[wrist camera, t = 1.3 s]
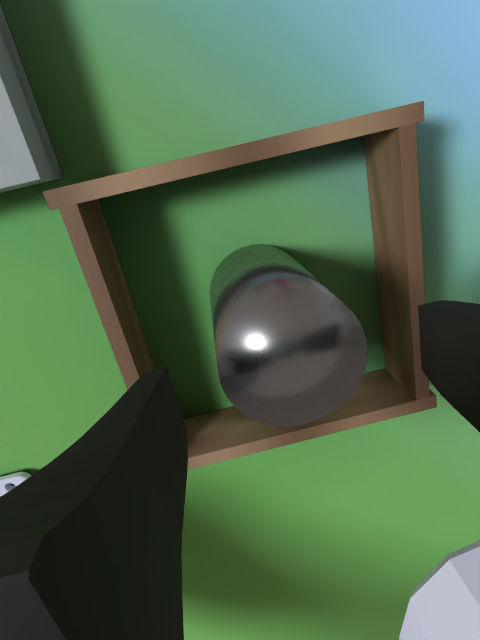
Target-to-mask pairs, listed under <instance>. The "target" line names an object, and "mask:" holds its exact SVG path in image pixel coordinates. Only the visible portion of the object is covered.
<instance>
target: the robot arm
mask: <svg viewBox="0 0 480 640" xmlns="http://www.w3.org/2000/svg"><path fill="white" fill-rule="evenodd" d="M418 315H419V332H420V350H421V368H422V370H423V372H424V373H425V375H426V376H427V377H428V379H429V380H430V381H431V383H432V384H433V385H434V386H435V388H436V389H437V390H438V391H439V393H440V394H441V395H442V396H443V397H444V398H445V399H446V400H447V401H448V402H449V403H450V404H451V405H452V406H453V407H454V408H455V409H456V410H457V411H458V412H459V413H460V414H461V415H462V416H463V417H464V418H465V419H466V420H467V421H468V422H470V423H471V424H472V425H473V426H474V427H475V428H476V429H477V430H478V431H479V432H480V304H474V303H467V302H458V301H436V302H432V303H427V304H423V305H419V306H418ZM187 467H188V446H187V431H186V425H185V422H184V419H183V416H182V413H181V410H180V407H179V404H178V401H177V398H176V395H175V392H174V389H173V386H172V383H171V380H170V377H169V374H168V371H167V368H163V369H159V370H155V371H151V372H147V373H144V374H143V375H142V376H141V377H140V378H139V379H138V380H137V381H136V382H135V383H134V384H133V385H132V386H131V387H130V388H129V389H128V391H127V392H126V393H125V394H124V395H123V396H122V397H121V398H120V399H119V400H118V401H117V402H116V403H115V404H114V406H113V407H112V408H111V409H110V410H109V411H108V412H107V413H106V414H105V415H104V416H103V417H102V418H101V419H100V420H99V421H97V422H96V423H95V424H94V425H93V426H92V427H91V428H90V429H89V430H88V431H87V432H86V433H85V434H84V435H83V436H82V437H81V438H80V439H78V440H77V441H76V442H75V443H74V444H73V445H71V446H70V447H69V448H68V449H67V450H65V451H64V452H63V453H62V454H60V455H59V456H58V457H57V458H55V459H54V460H53V461H52V462H50V463H49V464H48V465H46V466H45V467H43V468H42V469H40V470H39V471H38V472H36V473H35V474H33V475H32V476H31V475H30V474H29V473H26V472H17V473H13V474H9V475H5V476H1V477H0V640H184V633H183V605H182V564H181V546H182V527H183V516H184V504H185V492H186V480H187ZM9 483H12V484H14V485H15V486H12V485H10V484H9ZM399 640H480V541H478V542H475V543H473V544H471V545H469V546H467V547H464V548H462V549H460V550H458V551H455V552H453V553H451V554H449V555H447V556H446V557H445V558H444V559H443V560H442V561H441V562H440V563H439V564H438V565H437V566H436V567H435V568H434V569H433V570H432V571H431V572H430V573H429V574H428V575H427V576H426V577H425V578H424V579H423V580H422V581H421V582H420V583H419V584H418V585H417V586H416V587H415V588H414V590H413V592H412V595H411V597H410V600H409V604H408V607H407V611H406V615H405V618H404V622H403V625H402V629H401V633H400V636H399Z"/></svg>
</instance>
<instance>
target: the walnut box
mask: <svg viewBox="0 0 480 640" xmlns="http://www.w3.org/2000/svg"><path fill="white" fill-rule="evenodd" d="M422 121H424V101H421V102H417V103H413V104H409V105H405V106H400V107H396V108H392V109H388V110H384V111H379V112H375V113H371V114H367V115H363V116H358V117H354V118H350V119H346V120H342V121H337V122H333V123H329V124H325V125H321V126H316V127H312V128H308V129H304V130H299V131H295V132H291V133H287V134H283V135H278V136H274V137H270V138H266V139H262V140H257V141H253V142H249V143H245V144H241V145H236V146H232V147H228V148H224V149H220V150H215V151H211V152H207V153H203V154H199V155H194V156H190V157H186V158H182V159H178V160H173V161H169V162H165V163H161V164H156V165H152V166H148V167H144V168H140V169H135V170H131V171H127V172H123V173H119V174H114V175H110V176H106V177H102V178H98V179H93V180H89V181H85V182H81V183H77V184H72V185H68V186H64V187H60V188H56V189H51V190H47V191H43V194H44V197H45V199H46V202H47V204H48V207H49V209H50V210H53V209H57V208H59V210H60V213H61V215H62V218H63V221H64V223H65V226H66V229H67V231H68V234H69V237H70V239H71V242H72V244H73V247H74V250H75V252H76V255H77V258H78V260H79V263H80V266H81V268H82V271H83V273H84V276H85V279H86V281H87V284H88V287H89V289H90V292H91V295H92V297H93V300H94V303H95V305H96V308H97V310H98V313H99V316H100V318H101V321H102V324H103V326H104V329H105V332H106V334H107V337H108V339H109V342H110V345H111V347H112V350H113V353H114V355H115V358H116V361H117V363H118V366H119V368H120V371H121V374H122V376H123V379H124V382H125V384H126V387H127V390H128V389H129V388H130V387H131V386H132V385H133V384H134V383H135V382H136V381H137V380H138V379H139V378H140V377H141V376H142V375H143V374H144V373H147V372H151V371H155V370H156V368H155V365H154V362H153V359H152V357H151V354H150V351H149V348H148V345H147V342H146V339H145V336H144V333H143V330H142V327H141V324H140V321H139V318H138V315H137V312H136V310H135V307H134V304H133V301H132V298H131V295H130V292H129V289H128V286H127V283H126V280H125V277H124V274H123V271H122V268H121V266H120V263H119V260H118V257H117V254H116V251H115V248H114V245H113V242H112V239H111V236H110V233H109V230H108V227H107V224H106V221H105V219H104V216H103V213H102V210H101V207H100V204H99V201H98V199H99V198H103V197H107V196H112V195H116V194H120V193H124V192H128V191H133V190H137V189H141V188H145V187H149V186H154V185H158V184H162V183H166V182H170V181H174V180H179V179H183V178H187V177H191V176H195V175H200V174H204V173H208V172H212V171H216V170H221V169H225V168H229V167H233V166H237V165H241V164H246V163H250V162H254V161H258V160H262V159H267V158H271V157H275V156H279V155H283V154H288V153H292V152H296V151H300V150H304V149H309V148H313V147H317V146H321V145H325V144H329V143H334V142H338V141H342V140H346V139H350V138H355V137H359V136H364V146H365V157H366V167H367V178H368V188H369V199H370V209H371V219H372V230H373V240H374V251H375V261H376V272H377V282H378V293H379V303H380V314H381V324H382V334H383V345H384V355H385V366H386V369H382V370H378V371H374V372H370V373H366V374H363V376H362V378H361V380H360V382H359V384H358V386H357V388H356V389H355V391H354V392H353V393H352V395H351V396H350V397H349V398H348V399H347V400H346V402H344V403H343V404H342V405H341V406H340V407H339V408H338V409H336V410H335V411H333V412H332V413H330V414H329V415H327V416H325V417H323V418H321V419H319V420H317V421H314V422H311V423H308V424H304V425H299V426H290V427H281V426H272V425H267V424H263V423H260V422H258V421H255V420H253V419H251V418H249V417H247V416H246V415H244V414H243V413H242V412H240V411H239V410H238V409H237V408H236V407H235V406H234V407H230V408H226V409H222V410H218V411H214V412H210V413H206V414H202V415H198V416H194V417H190V418H186V419H184V422H185V425H186V431H187V446H188V467H187V470H189V469H193V468H197V467H201V466H205V465H209V464H213V463H217V462H221V461H225V460H229V459H233V458H237V457H241V456H245V455H249V454H253V453H257V452H261V451H265V450H268V449H272V448H276V447H280V446H284V445H288V444H292V443H296V442H300V441H304V440H308V439H312V438H316V437H320V436H324V435H328V434H332V433H336V432H340V431H344V430H348V429H352V428H356V427H360V426H364V425H368V424H372V423H376V422H379V421H383V420H387V419H391V418H395V417H399V416H403V415H407V414H411V413H415V412H419V411H423V410H427V409H431V408H435V407H437V401H436V395H435V394H434V393H433V392H432V391H431V390H430V389H429V379H428V377H427V376H426V375H425V373H424V372H423V370H422V368H421V350H420V332H419V315H418V306H419V305H423V304H425V295H424V275H423V256H422V236H421V216H420V196H419V176H418V157H417V137H416V123H417V122H422Z"/></svg>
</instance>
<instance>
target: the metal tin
mask: <svg viewBox="0 0 480 640" xmlns="http://www.w3.org/2000/svg"><path fill="white" fill-rule="evenodd" d="M210 303H211V312H212V321H213V330H214V339H215V348H216V357H217V366H218V374H219V379H220V383H221V385H222V388H223V390H224V392H225V394H226V396H227V398H228V399H229V400H230V402H231V403H232V404H233V405H234V406H235V407H236V408H237V409H238V410H239V411H240V412H242V413H243V414H244V415H246V416H247V417H249V418H251V419H253V420H255V421H258V422H260V423H263V424H267V425H272V426H281V427H290V426H299V425H304V424H308V423H311V422H314V421H317V420H319V419H321V418H323V417H325V416H327V415H329V414H330V413H332V412H333V411H335V410H336V409H338V408H339V407H340V406H341V405H342V404H343V403H344V402H346V400H347V399H348V398H349V397H350V396H351V395H352V393H353V392H354V391H355V389H356V388H357V386H358V384H359V382H360V380H361V378H362V376H363V373H364V370H365V366H366V362H367V342H366V336H365V333H364V330H363V327H362V326H361V324H360V322H359V320H358V318H357V317H356V316H355V314H354V313H353V312H352V311H351V310H350V309H349V308H348V307H347V306H346V305H345V304H344V303H343V302H342V301H341V300H339V299H338V298H337V297H336V296H335V295H334V294H333V293H332V292H331V291H329V290H328V289H327V288H326V287H325V286H324V285H323V284H322V283H321V282H320V281H318V280H317V279H316V278H315V277H314V276H313V275H312V274H311V273H310V272H308V271H307V270H306V269H305V268H304V267H303V266H302V265H301V264H300V263H298V262H297V261H296V260H295V259H294V258H293V257H292V256H291V255H289V254H288V253H287V252H285V251H283V250H282V249H280V248H277V247H274V246H270V245H263V244H258V245H250V246H246V247H243V248H240V249H238V250H236V251H234V252H233V253H231V254H230V255H228V256H227V257H226V258H225V259H224V260H223V261H222V262H221V263H220V265H219V266H218V268H217V269H216V271H215V273H214V275H213V278H212V281H211V285H210Z"/></svg>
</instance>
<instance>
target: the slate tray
mask: <svg viewBox="0 0 480 640" xmlns="http://www.w3.org/2000/svg"><path fill="white" fill-rule="evenodd" d="M60 178H63V175H62V172H61V170H60V167H59V164H58V161H57V159H56V156H55V153H54V150H53V148H52V145H51V142H50V139H49V137H48V134H47V131H46V128H45V126H44V123H43V120H42V117H41V115H40V112H39V109H38V106H37V104H36V101H35V98H34V96H33V93H32V90H31V87H30V85H29V82H28V79H27V76H26V74H25V71H24V68H23V65H22V63H21V60H20V57H19V54H18V52H17V49H16V46H15V43H14V41H13V38H12V35H11V32H10V30H9V27H8V24H7V21H6V19H5V16H4V13H3V10H2V8H1V5H0V193H1V192H6V191H10V190H14V189H18V188H22V187H27V186H31V185H35V184H39V183H44V182H48V181H52V180H56V179H60Z"/></svg>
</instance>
